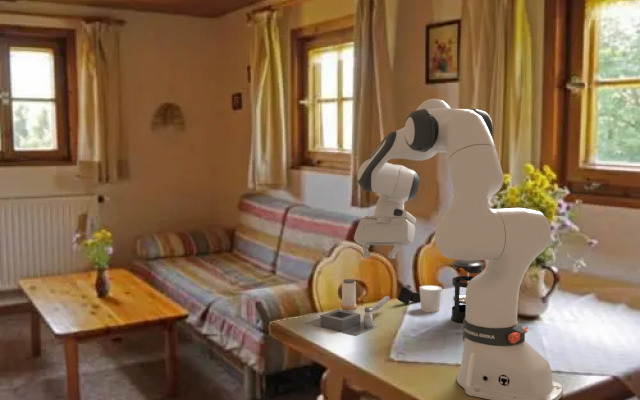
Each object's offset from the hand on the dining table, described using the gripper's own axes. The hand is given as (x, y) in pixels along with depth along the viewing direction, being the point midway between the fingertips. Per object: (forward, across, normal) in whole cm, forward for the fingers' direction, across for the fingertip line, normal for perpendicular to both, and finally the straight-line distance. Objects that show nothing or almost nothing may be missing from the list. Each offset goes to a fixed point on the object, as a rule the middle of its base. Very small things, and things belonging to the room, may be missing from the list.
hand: (378, 257), depth 205 cm
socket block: (+25, 0, -10) cm, 27 cm away
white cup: (+10, +10, +19) cm, 23 cm away
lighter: (+8, +1, +20) cm, 21 cm away
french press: (+12, +24, +18) cm, 32 cm away
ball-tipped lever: (+16, +5, -2) cm, 17 cm away
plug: (+20, -4, -2) cm, 21 cm away
